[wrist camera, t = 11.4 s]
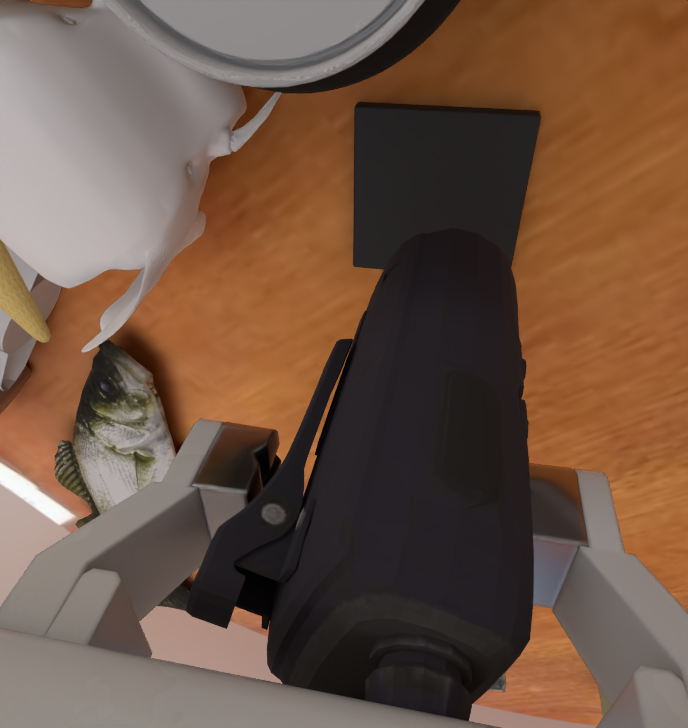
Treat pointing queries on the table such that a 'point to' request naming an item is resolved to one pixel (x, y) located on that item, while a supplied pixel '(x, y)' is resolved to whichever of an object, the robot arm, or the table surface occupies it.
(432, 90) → the table surface
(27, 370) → the wooden block
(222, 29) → the beverage can
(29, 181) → the elephant figurine
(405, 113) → the rubber pad
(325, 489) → the two-way radio
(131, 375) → the fish
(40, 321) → the ice cream cone
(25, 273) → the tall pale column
